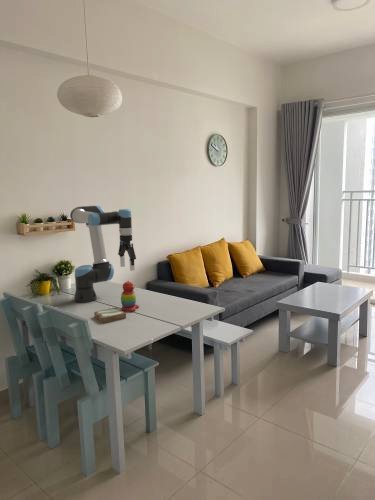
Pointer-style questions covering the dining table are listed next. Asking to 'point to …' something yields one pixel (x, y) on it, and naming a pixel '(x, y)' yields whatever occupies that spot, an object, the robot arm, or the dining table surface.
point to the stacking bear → (128, 298)
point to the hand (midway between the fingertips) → (127, 268)
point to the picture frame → (110, 315)
